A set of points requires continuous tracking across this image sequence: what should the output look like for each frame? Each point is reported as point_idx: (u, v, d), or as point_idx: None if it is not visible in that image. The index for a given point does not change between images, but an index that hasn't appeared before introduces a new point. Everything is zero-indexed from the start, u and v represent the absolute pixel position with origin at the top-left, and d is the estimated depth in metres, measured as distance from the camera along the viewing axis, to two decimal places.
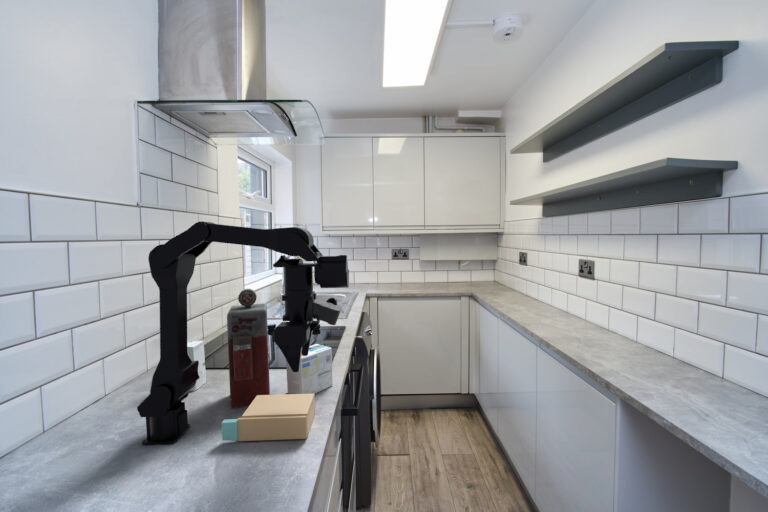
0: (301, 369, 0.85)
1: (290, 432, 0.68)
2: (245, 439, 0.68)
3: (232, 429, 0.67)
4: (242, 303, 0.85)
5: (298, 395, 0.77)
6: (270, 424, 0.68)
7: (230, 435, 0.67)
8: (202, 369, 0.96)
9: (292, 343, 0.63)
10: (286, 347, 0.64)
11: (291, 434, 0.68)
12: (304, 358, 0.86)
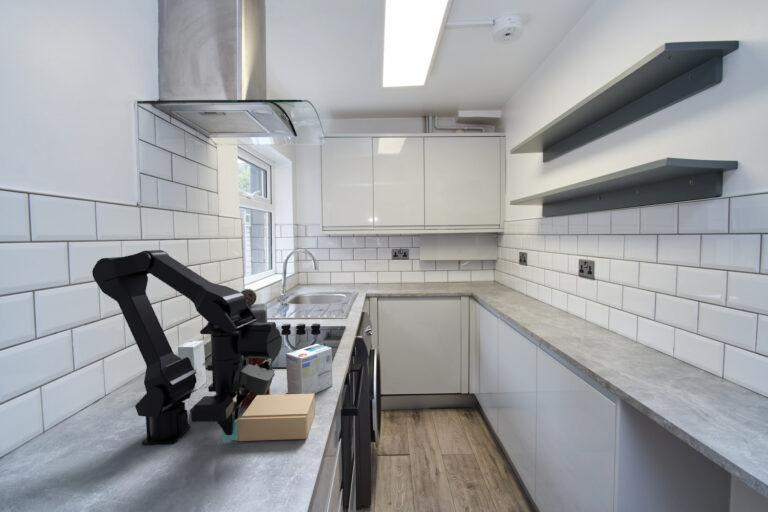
0: (301, 369, 0.85)
1: (290, 432, 0.68)
2: (245, 439, 0.68)
3: None
4: None
5: (298, 395, 0.77)
6: (270, 424, 0.68)
7: (230, 435, 0.67)
8: (202, 369, 0.96)
9: None
10: None
11: (291, 434, 0.68)
12: (304, 358, 0.86)
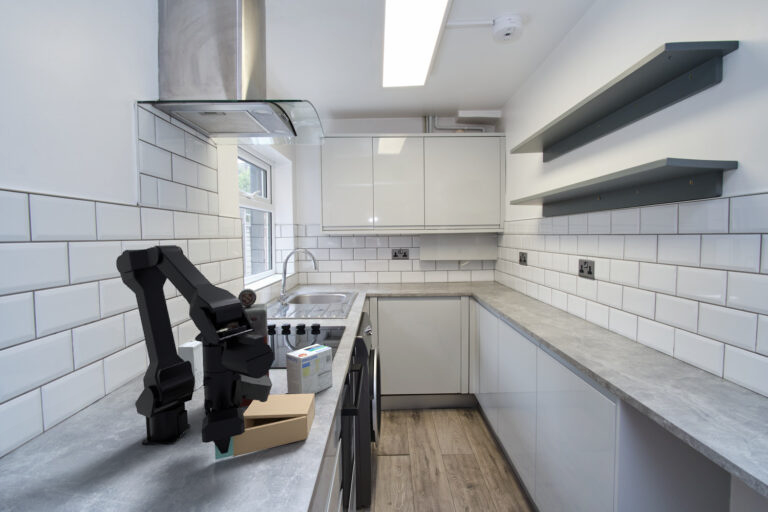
0: (301, 369, 0.85)
1: (290, 435, 0.67)
2: (241, 453, 0.64)
3: None
4: (242, 303, 0.85)
5: (298, 395, 0.77)
6: (269, 432, 0.65)
7: None
8: (202, 369, 0.96)
9: None
10: None
11: (291, 437, 0.67)
12: (304, 358, 0.86)
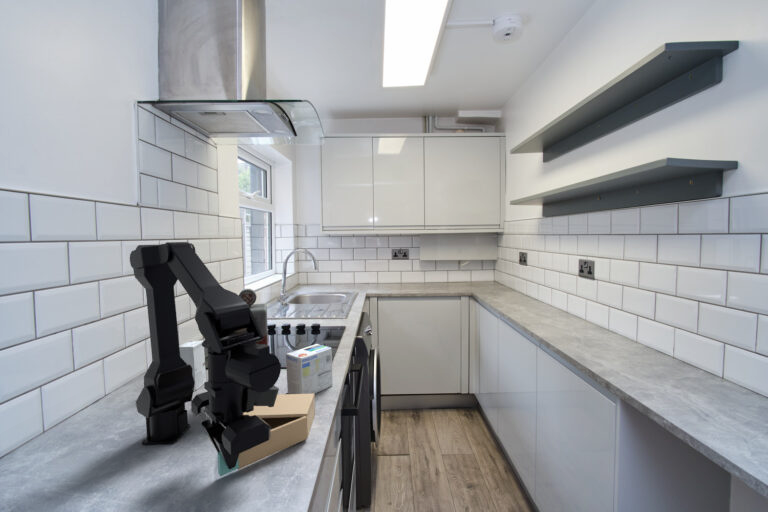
0: (301, 369, 0.85)
1: (292, 438, 0.66)
2: (246, 464, 0.60)
3: None
4: None
5: (298, 395, 0.77)
6: (272, 437, 0.63)
7: None
8: (202, 369, 0.96)
9: None
10: None
11: (293, 439, 0.66)
12: (304, 358, 0.86)
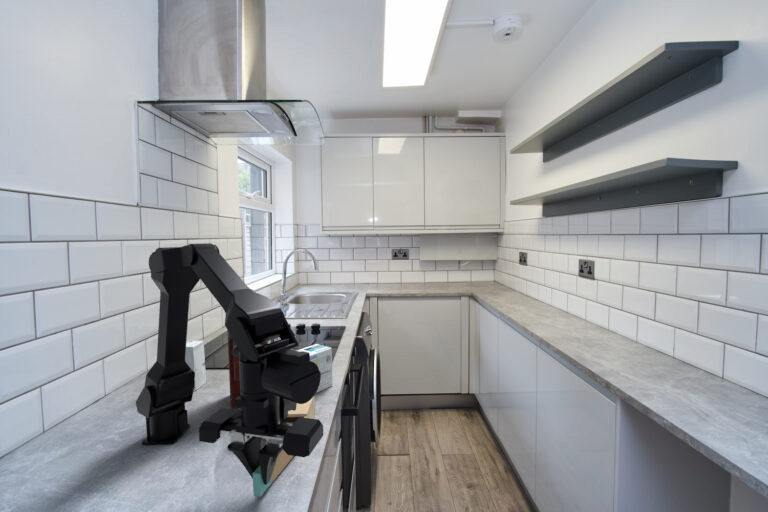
0: None
1: None
2: (274, 477, 0.57)
3: None
4: None
5: None
6: None
7: None
8: (202, 369, 0.96)
9: None
10: None
11: None
12: None
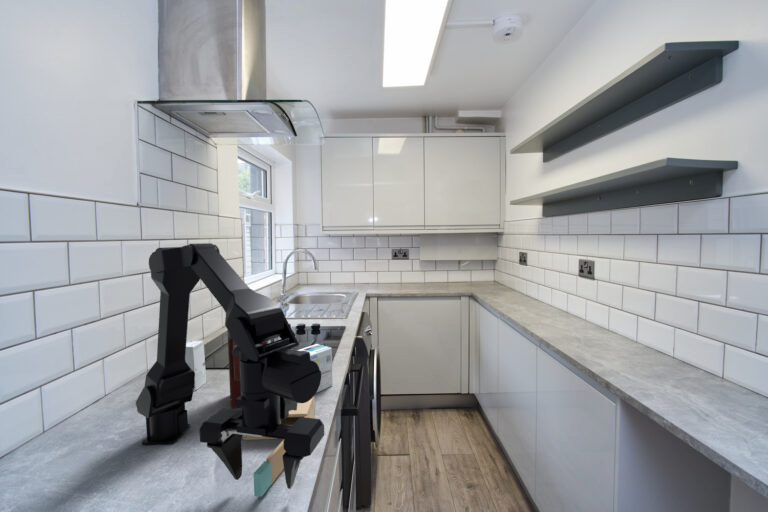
0: None
1: None
2: (275, 477, 0.57)
3: (268, 474, 0.54)
4: None
5: None
6: None
7: (266, 483, 0.54)
8: (202, 369, 0.96)
9: None
10: None
11: None
12: None
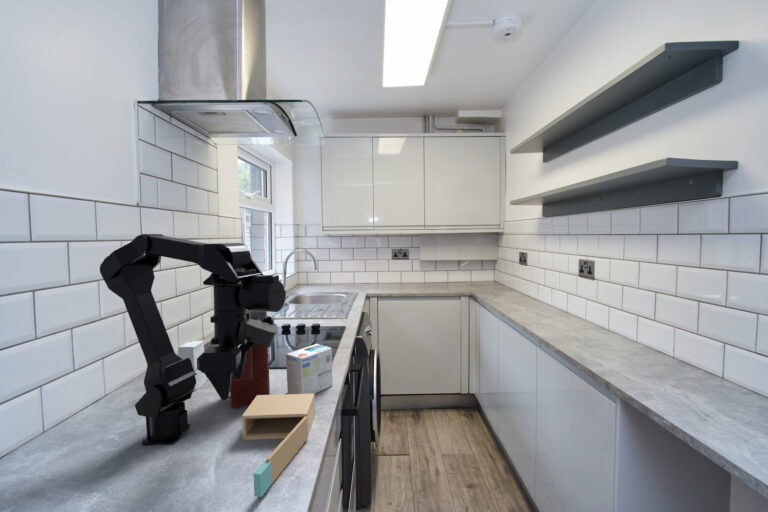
0: (301, 369, 0.85)
1: (300, 440, 0.65)
2: (275, 477, 0.57)
3: (268, 474, 0.54)
4: None
5: (298, 395, 0.77)
6: (289, 444, 0.61)
7: (266, 483, 0.54)
8: None
9: (220, 370, 0.58)
10: (214, 374, 0.59)
11: (301, 442, 0.66)
12: (304, 358, 0.86)
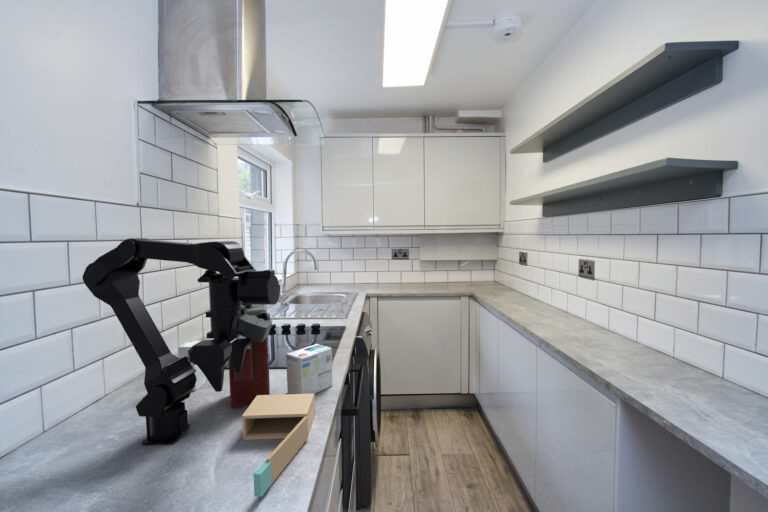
0: (301, 369, 0.85)
1: (300, 440, 0.65)
2: (275, 477, 0.57)
3: (268, 474, 0.54)
4: (242, 303, 0.85)
5: (298, 395, 0.77)
6: (289, 444, 0.61)
7: (266, 483, 0.54)
8: None
9: (210, 363, 0.60)
10: (206, 366, 0.62)
11: (301, 442, 0.66)
12: (304, 358, 0.86)
